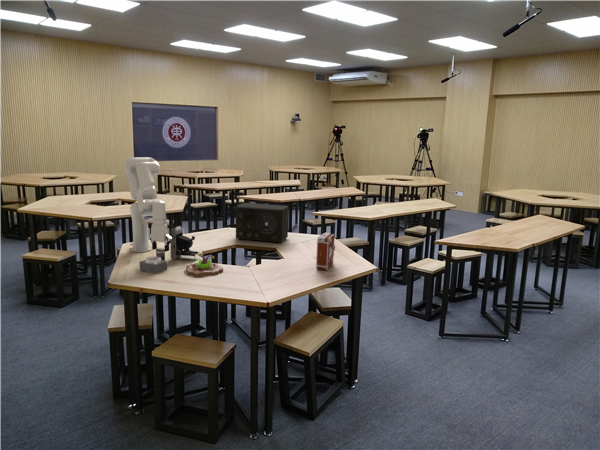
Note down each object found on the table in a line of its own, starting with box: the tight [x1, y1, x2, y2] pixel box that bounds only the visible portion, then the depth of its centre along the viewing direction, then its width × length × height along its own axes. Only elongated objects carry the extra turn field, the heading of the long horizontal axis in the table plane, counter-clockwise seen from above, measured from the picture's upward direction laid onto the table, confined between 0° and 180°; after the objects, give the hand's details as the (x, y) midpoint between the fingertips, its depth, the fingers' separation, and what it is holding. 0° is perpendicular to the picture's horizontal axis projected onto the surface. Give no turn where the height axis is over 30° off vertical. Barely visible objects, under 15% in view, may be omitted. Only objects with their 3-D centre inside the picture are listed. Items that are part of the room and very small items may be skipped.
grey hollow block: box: [138, 256, 168, 275], centre depth 252 cm, size 12×9×6 cm
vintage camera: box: [169, 225, 201, 260], centre depth 274 cm, size 10×16×20 cm, turn 79°
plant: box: [185, 252, 224, 278], centre depth 252 cm, size 20×20×11 cm
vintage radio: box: [235, 202, 290, 244], centre depth 327 cm, size 38×20×25 cm, turn 77°
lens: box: [155, 247, 166, 261], centre depth 266 cm, size 5×5×8 cm
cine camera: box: [315, 232, 336, 271], centre depth 267 cm, size 9×19×20 cm, turn 161°
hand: (160, 250), depth 265 cm, fingers open, 9 cm apart
